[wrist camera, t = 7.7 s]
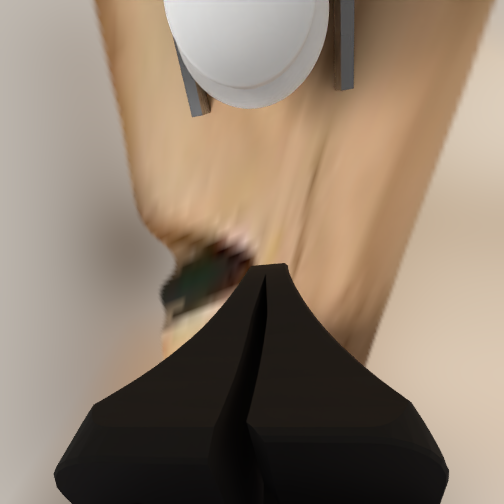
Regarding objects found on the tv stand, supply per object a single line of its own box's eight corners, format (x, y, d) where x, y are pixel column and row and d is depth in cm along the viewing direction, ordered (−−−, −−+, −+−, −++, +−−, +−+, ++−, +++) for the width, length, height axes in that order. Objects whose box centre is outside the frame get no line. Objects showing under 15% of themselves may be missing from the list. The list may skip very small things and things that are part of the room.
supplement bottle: (195, 12, 15) (88, -83, 7) (293, -44, 14) (312, -250, 5) (235, 116, 17) (193, 143, 9) (322, 78, 16) (367, 67, 8)
